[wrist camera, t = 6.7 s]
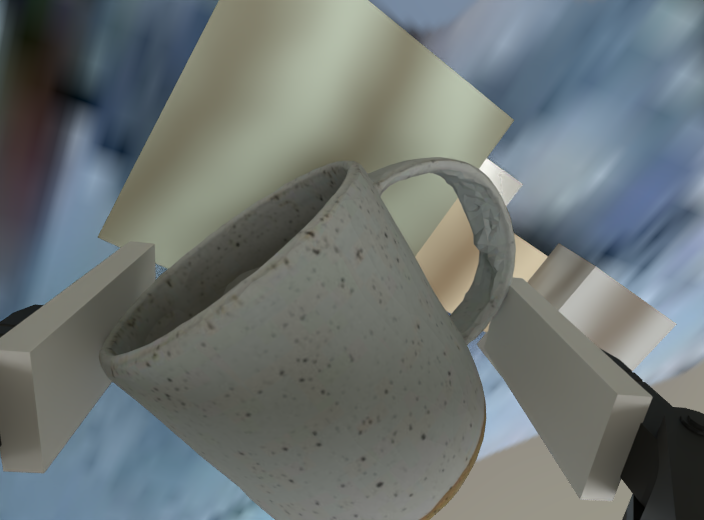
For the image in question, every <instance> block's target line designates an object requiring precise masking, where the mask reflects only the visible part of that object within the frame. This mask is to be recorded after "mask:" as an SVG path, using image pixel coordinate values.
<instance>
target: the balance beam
mask: <svg viewBox="0 0 704 520" xmlns="http://www.w3.org/2000/svg"><path fill="white" fill-rule="evenodd" d="M513 121H514V120H513V119H512V118H511V117H510V116H508V115H507V114H506V113H505V112H503V111H502V110H501V109H500V108H499V107H497V106H496V105H495V104H494V103H492V102H491V101H490V100H489V99H488V98H486V97H485V96H484V95H483V94H482V93H480V92H479V91H478V90H477V89H475V88H474V87H473V86H472V85H471V84H469V83H468V82H467V81H466V80H464V79H463V78H462V77H461V76H460V75H458V74H457V73H456V72H455V71H453V70H452V69H451V68H450V67H449V66H447V65H446V64H445V63H444V62H443V61H441V60H440V59H439V58H438V57H436V56H435V55H434V54H433V53H432V52H430V51H429V50H428V49H427V48H425V47H424V46H423V45H422V44H421V43H419V42H418V41H417V40H416V39H415V38H413V37H412V36H411V35H410V34H408V33H407V32H406V31H405V30H404V29H402V28H401V27H400V26H399V25H397V24H396V23H395V22H394V21H393V20H391V19H390V18H389V17H388V16H386V15H385V14H384V13H383V12H382V11H380V10H379V9H378V8H377V7H376V6H374V5H373V4H372V3H371V2H369V1H368V0H219V2H218V4H217V5H216V7H215V9H214V11H213V13H212V15H211V17H210V19H209V21H208V23H207V25H206V27H205V29H204V31H203V33H202V35H201V37H200V39H199V41H198V43H197V44H196V46H195V48H194V50H193V52H192V54H191V56H190V58H189V60H188V62H187V64H186V66H185V68H184V70H183V72H182V74H181V76H180V78H179V80H178V82H177V83H176V85H175V87H174V89H173V91H172V93H171V95H170V97H169V99H168V101H167V103H166V105H165V107H164V109H163V111H162V113H161V115H160V117H159V119H158V120H157V122H156V124H155V126H154V128H153V130H152V132H151V134H150V136H149V138H148V140H147V142H146V144H145V146H144V148H143V150H142V152H141V154H140V156H139V158H138V159H137V161H136V163H135V165H134V167H133V169H132V171H131V173H130V175H129V177H128V179H127V181H126V183H125V185H124V187H123V189H122V191H121V193H120V195H119V197H118V198H117V200H116V202H115V204H114V206H113V208H112V210H111V212H110V214H109V216H108V218H107V220H106V222H105V224H104V226H103V228H102V230H101V232H100V234H99V236H98V238H100V239H102V240H105V241H107V242H109V243H111V244H114V245H116V246H118V247H120V248H121V247H123V246H124V245H125V244H127V243H128V242H129V241H132V242H142V243H153V244H155V263H156V264H158V265H161V266H163V267H165V268H167V269H169V268H170V267H171V266H173V265H174V264H175V263H176V262H177V261H178V260H179V259H180V258H182V257H183V256H184V255H185V254H186V253H188V252H189V251H190V250H192V249H193V248H194V247H196V246H197V245H198V244H199V243H201V242H202V241H203V240H204V239H205V238H207V237H208V236H209V235H210V234H212V233H213V232H215V231H216V230H217V229H219V228H220V227H221V226H222V225H223V224H225V223H227V222H228V221H230V220H231V219H233V218H234V217H235V216H237V215H238V214H240V213H241V212H242V211H244V210H245V209H247V208H248V207H249V206H251V205H252V204H254V203H255V202H257V201H259V200H261V199H263V198H265V197H267V196H268V195H270V194H271V193H273V192H275V191H276V190H278V189H279V188H280V187H282V186H283V185H284V184H286V183H288V182H290V181H292V180H294V179H296V178H298V177H300V176H302V175H304V174H307V173H309V172H310V171H312V170H314V169H317V168H320V167H323V166H325V165H327V164H330V163H333V162H337V161H345V160H346V161H355V162H357V163H359V164H361V165H362V167H363V168H364V170H365V171H366V173H367V174H368V173H371V172H373V171H376V170H378V169H381V168H383V167H386V166H388V165H392V164H395V163H398V162H402V161H406V160H413V159H420V158H431V157H443V158H450V159H455V160H459V161H463V162H466V163H469V164H471V165H473V166H475V167H476V168H478V169H479V168H480V167H481V165H482V164H483V162H484V161H485V160H486V158H487V157H488V156H489V154H490V153H491V151H492V150H493V149H494V147H495V146H496V145H497V143H498V142H499V140H500V139H501V138H502V136H503V135H504V134H505V132H506V131H507V129H508V128H509V127H510V125H511V124H512V123H513ZM381 199H382V200H383V202H384V204H385V206H386V207H387V209H388V211H389V213H390V214H391V216H392V218H393V219H394V221H395V223H396V225H397V226H398V228H399V230H400V231H401V233H402V235H403V237H404V238H405V240H406V242H407V243H408V245H409V247H410V249H411V250H412V252H413V254H414V256H415V258H416V260H417V261H418V263H419V265H420V267H421V269H422V271H423V273H424V274H425V276H426V278H427V280H428V282H429V284H430V286H431V287H432V289H433V291H434V292H435V294H436V296H437V297H438V299H439V301H440V302H441V304H442V306H443V307H444V308H445V310H446V311H448V312H449V313H451V314H452V313H453V311H454V310H455V309H456V308H457V307H458V305H459V304H460V303H461V302H462V301H463V299H464V296H465V294H466V293H467V292H468V290H469V289H470V287H471V285H472V283H473V280H474V277H475V274H476V270H477V267H478V263H479V250H478V249H477V248H476V246H475V245H474V240H473V232H472V229H471V226H470V223H469V221H468V219H467V217H466V214H465V212H464V210H463V208H462V205H461V203H460V201H459V198H458V196H457V194H456V193H455V191H454V189H453V187H452V186H450V185H449V184H447V183H446V181H445V179H443V178H442V177H440V176H438V175H436V174H433V173H427V174H423V175H419V176H415V177H411V178H408V179H406V180H401V181H398V182H396V183H394V184H392V185H391V186H389V187H388V188H387V189H386V190H385V191H384V192H383V193H382V195H381ZM514 237H515V245H516V253H515V267H514V272H513V277H514V278H523V279H524V280H525V281H526V282H527V283H528V284H530V285H531V286H532V287H533V288H534V289H535V290H536V291H537V292H538V293H539V294H540V295H542V296H543V297H544V298H545V299H546V300H547V301H548V302H549V303H550V304H551V305H553V306H554V307H555V308H556V309H557V310H558V311H559V312H560V313H561V314H562V315H563V316H565V317H566V318H567V319H568V320H569V321H570V322H571V323H572V324H573V325H574V326H576V327H577V328H578V329H579V330H580V331H581V332H582V333H583V334H584V335H585V336H586V337H588V338H589V339H590V340H591V341H592V342H593V343H594V344H595V345H596V346H597V347H599V348H600V349H602V350H604V351H606V352H608V353H609V354H611V355H613V356H614V357H616V358H618V359H620V360H621V361H622V362H623V363H624V364H625V365H626V366H627V367H629V368H630V369H631V370H632V371H633V370H634V369H635V368H636V367H637V366H638V365H639V364H640V363H641V362H642V361H643V360H644V358H645V357H646V356H647V355H648V354H649V353H650V352H651V351H652V350H653V349H654V348H655V347H656V346H657V345H658V344H659V342H660V341H661V340H662V339H663V338H664V337H665V336H666V335H667V334H668V333H669V332H670V331H671V330H672V329H673V327H674V326H675V325H676V323H674V322H673V321H672V320H670V319H669V318H667V317H666V316H665V315H663V314H662V313H660V312H659V311H657V310H656V309H655V308H653V307H652V306H650V305H649V304H648V303H646V302H645V301H643V300H642V299H641V298H639V297H638V296H636V295H635V294H634V293H632V292H631V291H629V290H628V289H627V288H625V287H624V286H622V285H621V284H620V283H618V282H617V281H615V280H614V279H613V278H611V277H610V276H608V275H607V274H606V273H604V272H603V271H601V270H600V269H599V268H597V267H596V266H594V265H593V264H591V263H589V262H588V261H586V260H585V259H583V258H581V257H580V256H578V255H577V254H575V253H574V252H572V251H570V250H569V249H567V248H566V247H564V246H562V245H561V244H558V245H557V246H556V247H555V249H554V250H553V251H552V252H551V254H550V255H549V256H547V255H545V254H544V253H542V252H541V251H539V250H538V249H536V248H535V247H533V246H532V245H531V244H529V243H528V242H526V241H525V240H523V239H522V238H520V237H519V236H517V235H516V234H514ZM489 325H490V323H489V324H488V326H487V327H486V328H485V329H484V330H483V331H485V332H486V334H485V335H484V336H483V337H482V339H481V340H480V341H479V342H478V343H477V345H478V347H479V348H480V349H481V351H482V352H483V353H484V355H485V356H486V357H487V358H488V360H489V361H490V362H491V364H492V365H493V366H494V367H495V369H496V370H497V371H498V369H497V368H496V366H495V365H494V363H493V362H492V360H491V358H490V357H489V355H488V354H487V352H486V351H485V349H484V345H485V341H486V337H487V333H488V329H489ZM498 373H499V371H498ZM499 374H500V373H499ZM500 375H501V374H500Z"/></svg>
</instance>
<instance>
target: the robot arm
mask: <svg viewBox="0 0 704 520" xmlns="http://www.w3.org/2000/svg"><path fill="white" fill-rule="evenodd" d="M155 281H156V279H155V244H153V243H142V242H132V241H129V242H128V243H127V244H125V245H124V246H123V247H121V248H120V249H119V250H117V251H116V252H115V253H113V254H112V255H111V256H109V257H108V258H107V259H105V260H104V261H103V262H101V263H100V264H99V265H97V266H96V267H95V268H93V269H92V270H91V271H89V272H88V273H86V274H85V275H84V276H82V277H81V278H80V279H78V280H77V281H76V282H74V283H73V284H72V285H70V286H69V287H68V288H66V289H65V290H64V291H62V292H61V293H60V294H58V295H57V296H56V297H54V298H53V299H52V300H50V301H49V302H48V303H46V304H45V305H33V306H30V307H27V308H25V309H22V310H20V311H17V312H14V313H12V314H11V315H10V316H8V317H7V318H5V319H4V320H2V321H1V322H0V452H1V459H2V465H3V471H8V472H28V473H45V471H46V470H47V469H48V467H49V466H50V465H51V463H52V462H53V461H54V459H55V458H56V457H57V455H58V454H59V452H60V451H61V450H62V448H63V447H64V446H65V444H66V443H67V442H68V440H69V439H70V438H71V436H72V435H73V434H74V432H75V431H76V430H77V428H78V427H79V426H80V424H81V423H82V422H83V420H84V419H85V417H86V416H87V415H88V413H89V412H90V411H91V409H92V408H93V407H94V405H95V404H96V403H97V401H98V400H99V399H100V397H101V396H102V395H103V393H104V392H105V391H106V389H107V388H108V387H109V385H110V384H111V382H112V381H111V380H110V379H109V378H108V377H107V376H106V374H105V372H104V371H103V369H102V367H101V364H100V361H99V352H100V350H101V348H102V346H103V344H104V342H105V340H106V338H107V336H108V334H109V333H110V332H111V330H112V329H113V328H114V327H115V325H116V324H117V322H118V321H119V319H120V318H121V317H122V316H123V315H124V314H125V313H126V311H127V310H128V308H129V307H130V306H132V305H133V304H134V302H135V301H136V300H137V299H138V297H139V296H140V295H141V294H142V293H143V292H144V291H146V290H147V289H148V288H149V287H150V286H151V285H152V284H153V283H154V282H155ZM484 349H485V351H486V352H487V354H488V355H489V357H490V358H491V360H492V362H493V363H494V365H495V366H496V368H497V369H498V371H499V373H500V374H501V376H502V377H503V379H504V380H505V382H506V384H507V385H508V387H509V388H510V390H511V391H512V393H513V395H514V396H515V398H516V399H517V401H518V402H519V404H520V406H521V407H522V409H523V410H524V412H525V413H526V415H527V417H528V418H529V420H530V421H531V423H532V424H533V426H534V428H535V429H536V431H537V432H538V434H539V435H540V437H541V439H542V440H543V442H544V443H545V445H546V446H547V448H548V450H549V451H550V453H551V454H552V456H553V457H554V459H555V461H556V462H557V464H558V465H559V467H560V468H561V470H562V472H563V473H564V475H565V476H566V478H567V479H568V481H569V483H570V484H571V486H572V487H573V489H574V490H575V492H576V494H577V495H578V497H579V498H580V499H581V500H601V501H613V499H614V496H615V494H616V491H617V488H618V486H619V483H620V480H621V479H622V480H623V481H624V483H625V484H626V485H627V486H628V488H629V489H630V490H631V492H632V493H633V494H632V497H631V499H630V502H629V505H628V507H627V510H626V512H625V514H624V517H623V520H704V414H703V413H700V412H697V411H694V410H690V409H687V408H679V407H672V406H671V405H670V404H669V403H668V402H667V401H666V400H665V399H663V398H662V397H661V396H660V395H659V394H658V393H657V392H656V391H654V390H653V389H652V388H651V387H650V386H649V385H648V384H647V383H645V382H642V379H641V378H640V377H639V376H638V375H636V374H635V373H632V370H631V369H630V368H629V367H627V366H626V365H625V364H624V363H623V362H622V361H621V360H620V359H618V358H616V357H614V356H613V355H611V354H609V353H608V352H606V351H604V350H602V349H600V348H599V347H597V346H596V345H595V344H594V343H593V342H592V341H591V340H590V339H589V338H588V337H586V336H585V335H584V334H583V333H582V332H581V331H580V330H579V329H578V328H577V327H576V326H574V325H573V324H572V323H571V322H570V321H569V320H568V319H567V318H566V317H565V316H563V315H562V314H561V313H560V312H559V311H558V310H557V309H556V308H555V307H554V306H553V305H551V304H550V303H549V302H548V301H547V300H546V299H545V298H544V297H543V296H542V295H540V294H539V293H538V292H537V291H536V290H535V289H534V288H533V287H532V286H531V285H530V284H528V283H527V282H526V281H525V280H524V279H523V278H514V277H512V282H511V285H510V287H509V292H508V294H507V296H506V297H505V299H504V301H503V303H502V305H501V307H500V309H499V311H498V313H497V314H496V315H495V317H494V318H493V319H492V320H491V321H490V325H489V329H488V333H487V337H486V341H485V345H484Z"/></svg>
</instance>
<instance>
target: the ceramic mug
mask: <svg viewBox="0 0 704 520" xmlns="http://www.w3.org/2000/svg"><path fill="white" fill-rule="evenodd" d="M427 173H433V174H436V175H438V176H440V177H442V178H443V179H445V181H446V183H447V184H449V185H450V186H452V187H453V189H454V191H455V193H456V194H457V196H458V198H459V201H460V203H461V205H462V208H463V210H464V212H465V214H466V217H467V219H468V221H469V223H470V226H471V229H472V232H473V240H474V245H475V246H476V248H477V249H478V250H479V263H478V267H477V270H476V274H475V277H474V280H473V283H472V285H471V287H470V289H469V290H468V292H467V293H466V294H465V296H464V299H463V301H462V302H461V303H460V304H459V305H458V307H457V308H456V309H455V310H454V311H453V313H452V314H451V315H450V316H449V315H448V313H447V311H446V310H445V308H444V307H443V306H442V304H441V302H440V301H439V299H438V297H437V296H436V294H435V292H434V291H433V289H432V287H431V286H430V284H429V282H428V280H427V278H426V276H425V274H424V273H423V271H422V269H421V267H420V265H419V263H418V261H417V260H416V258H415V256H414V254H413V252H412V250H411V249H410V247H409V245H408V243H407V242H406V240H405V238H404V237H403V235H402V233H401V231H400V230H399V228H398V226H397V225H396V223H395V221H394V219H393V218H392V216H391V214H390V213H389V211H388V209H387V207H386V206H385V204H384V202H383V200H382V199H381V195H382V193H383V192H384V191H385V190H386V189H387V188H388V187H389V186H391V185H392V184H394V183H396V182H398V181H401V180H406V179H408V178H411V177H415V176H419V175H423V174H427ZM515 253H516V245H515V237H514V231H513V228H512V222H511V218H510V215H509V212H508V210H507V207H506V205H505V203H504V201H503V198H502V196H501V195H500V193H499V191H498V190H497V188H496V186H495V185H494V184H493V182H492V181H491V180H490V178H489V177H488V176H487V175H486V174H484V173H483V172H482V171H481V170H479V169H478V168H476V167H475V166H473V165H471V164H469V163H466V162H463V161H459V160H455V159H450V158H443V157H431V158H420V159H413V160H406V161H402V162H398V163H395V164H392V165H388V166H386V167H383V168H381V169H378V170H376V171H373V172H371V173H368V174H367V173H366V171H365V170H364V168H363V167H362V165H361V164H359V163H357V162H355V161H346V160H345V161H337V162H333V163H330V164H327V165H325V166H323V167H320V168H317V169H314V170H312V171H310V172H309V173H307V174H304V175H302V176H300V177H298V178H296V179H294V180H292V181H290V182H288V183H286V184H284V185H283V186H282V187H280V188H279V189H278V190H276V191H275V192H273V193H271V194H270V195H268V196H267V197H265V198H263V199H261V200H259V201H257V202H255V203H254V204H252V205H251V206H249V207H248V208H247V209H245V210H244V211H242V212H241V213H240V214H238V215H237V216H235V217H234V218H233V219H231V220H230V221H228V222H227V223H225V224H223V225H222V226H221V227H220V228H219V229H217V230H216V231H215V232H213V233H212V234H210V235H209V236H208V237H207V238H205V239H204V240H203V241H202V242H201V243H199V244H198V245H197V246H196V247H194V248H193V249H192V250H190V251H189V252H188V253H186V254H185V255H184V256H183V257H182V258H180V259H179V260H178V261H177V262H176V263H175V264H174V265H173V266H171V267H170V268H169V269H168V270H166V271H165V272H164V273H163V274H161V275H160V276H159V277H158V278H157V279H156V281H155V282H154V283H153V284H152V285H151V286H150V287H149V288H148V289H147V290H146V291H144V292H143V293H142V294H141V295H140V296H139V297H138V299H137V300H136V301H135V302H134V304H133V305H132V306H130V307H129V308H128V310H127V311H126V313H125V314H124V315H123V316H122V317H121V318H120V319H119V321H118V322H117V324H116V325H115V327H114V328H113V329H112V330H111V332H110V333H109V334H108V336H107V338H106V340H105V342H104V344H103V346H102V348H101V350H100V352H99V361H100V364H101V367H102V369H103V371H104V372H105V374H106V376H107V377H108V378H109V379H110V380H111V381H112V382H114V383H115V384H116V385H117V386H119V387H120V388H121V389H122V390H124V391H125V392H126V393H127V394H129V395H130V396H131V397H132V398H134V399H135V400H136V401H138V402H139V403H140V404H141V405H142V406H144V407H145V408H146V409H147V410H148V411H150V412H151V413H152V414H153V415H154V416H155V417H157V418H158V419H159V420H160V421H161V422H162V423H163V424H165V425H166V426H167V427H168V428H169V429H170V430H171V431H172V432H174V433H175V434H176V435H177V436H178V437H179V438H181V439H182V440H183V441H184V442H185V443H186V444H187V445H189V446H190V447H191V448H192V449H193V450H194V451H196V452H197V453H198V454H199V455H200V456H201V457H203V458H204V459H205V460H206V461H207V462H209V463H210V464H211V465H212V466H214V467H215V468H216V469H217V470H219V471H220V472H221V473H222V474H224V475H225V476H226V477H227V478H229V479H230V480H231V481H232V482H234V483H235V484H236V485H237V486H239V487H240V488H241V489H242V490H243V492H244V493H245V494H246V495H247V496H248V497H249V498H250V499H251V500H252V501H254V502H255V503H256V504H257V505H258V506H259V507H261V508H262V509H263V510H264V511H265V512H266V513H268V514H269V515H270V516H271V517H273V518H274V519H275V520H430V519H431V518H432V517H433V516H434V515H435V514H436V513H437V512H439V511H440V510H441V509H442V508H443V507H444V506H445V505H446V504H447V503H448V502H449V501H450V500H451V499H452V498H453V496H454V495H455V494H456V493H457V492H458V491H459V489H460V487H461V486H462V484H463V483H464V481H465V479H466V478H467V476H468V475H469V472H470V471H471V469H472V467H473V465H474V463H475V461H476V459H477V456H478V453H479V450H480V447H481V444H482V441H483V438H484V432H485V424H486V404H485V397H484V392H483V387H482V383H481V380H480V377H479V374H478V371H477V368H476V365H475V363H474V360H473V358H472V356H471V353H470V351H469V349H468V347H467V345H468V344H469V343H470V342H471V341H473V340H474V339H476V338H477V336H478V335H479V334H480V333H481V332H482V331H483V330H484V329H485V328H486V327H487V326H488V324H489V323H490V321H491V320H492V319H493V318H494V317H495V315H496V314H497V313H498V311H499V309H500V307H501V305H502V303H503V301H504V299H505V297H506V296H507V294H508V292H509V287H510V285H511V282H512V277H513V272H514V267H515Z"/></svg>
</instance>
